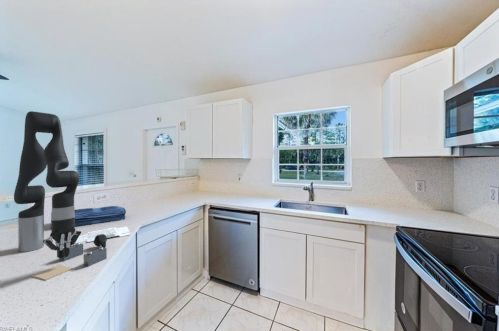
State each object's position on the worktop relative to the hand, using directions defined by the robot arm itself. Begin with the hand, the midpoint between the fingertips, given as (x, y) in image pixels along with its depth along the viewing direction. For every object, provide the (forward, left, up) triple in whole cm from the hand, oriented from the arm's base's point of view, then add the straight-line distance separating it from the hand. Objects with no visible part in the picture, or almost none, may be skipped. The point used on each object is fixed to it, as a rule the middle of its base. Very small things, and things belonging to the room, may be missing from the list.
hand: (63, 257), depth 87 cm
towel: (-63, +55, -5) cm, 84 cm away
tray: (-25, +35, -6) cm, 43 cm away
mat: (+1, -4, -5) cm, 6 cm away
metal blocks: (0, +8, -5) cm, 9 cm away
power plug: (0, +18, -7) cm, 19 cm away
